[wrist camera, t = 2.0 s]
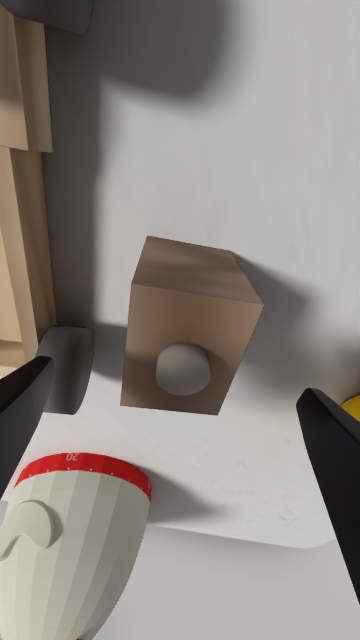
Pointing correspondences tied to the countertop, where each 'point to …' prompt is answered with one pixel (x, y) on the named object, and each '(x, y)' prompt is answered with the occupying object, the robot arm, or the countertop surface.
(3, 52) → the chassis
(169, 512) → the countertop surface
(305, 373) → the countertop surface
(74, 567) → the kitchen timer
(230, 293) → the block
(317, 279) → the countertop surface
